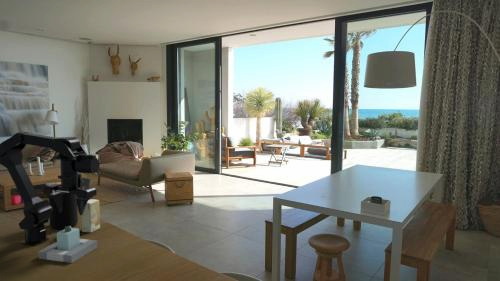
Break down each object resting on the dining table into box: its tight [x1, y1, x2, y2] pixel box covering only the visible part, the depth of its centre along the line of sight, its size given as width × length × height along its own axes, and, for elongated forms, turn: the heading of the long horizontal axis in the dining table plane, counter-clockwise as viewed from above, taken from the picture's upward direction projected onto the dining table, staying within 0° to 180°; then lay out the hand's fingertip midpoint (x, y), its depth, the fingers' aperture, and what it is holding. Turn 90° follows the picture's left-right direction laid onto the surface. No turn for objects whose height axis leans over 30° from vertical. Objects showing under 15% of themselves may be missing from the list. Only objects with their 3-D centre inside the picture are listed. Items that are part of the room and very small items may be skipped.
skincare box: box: [81, 198, 101, 233], centre depth 144 cm, size 6×4×12 cm
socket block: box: [37, 238, 98, 264], centre depth 123 cm, size 13×13×2 cm
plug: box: [56, 226, 81, 251], centre depth 122 cm, size 4×6×10 cm
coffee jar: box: [47, 181, 79, 231], centre depth 148 cm, size 11×11×18 cm
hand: (70, 213), depth 128 cm, fingers open, 9 cm apart
